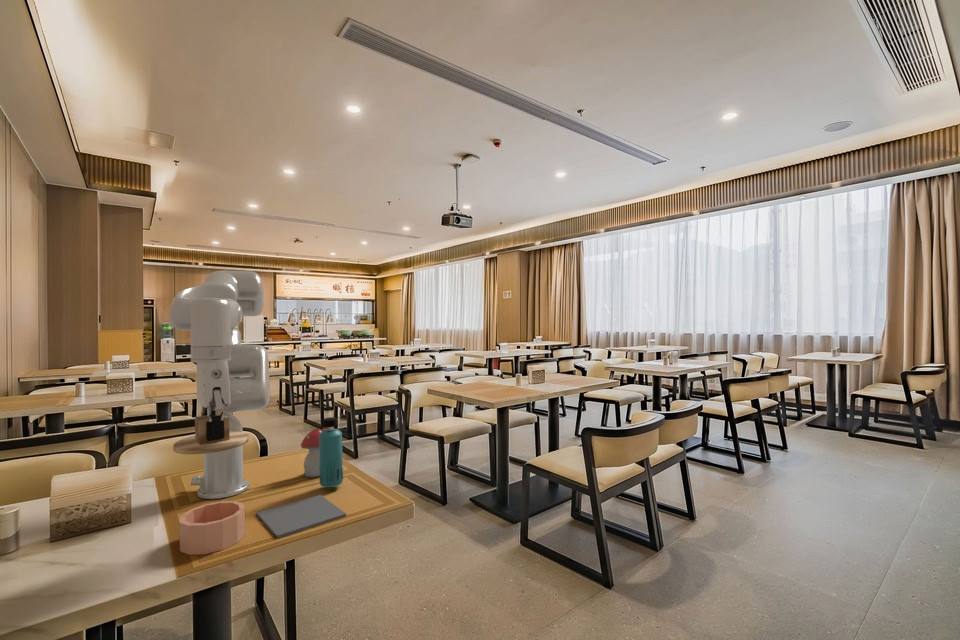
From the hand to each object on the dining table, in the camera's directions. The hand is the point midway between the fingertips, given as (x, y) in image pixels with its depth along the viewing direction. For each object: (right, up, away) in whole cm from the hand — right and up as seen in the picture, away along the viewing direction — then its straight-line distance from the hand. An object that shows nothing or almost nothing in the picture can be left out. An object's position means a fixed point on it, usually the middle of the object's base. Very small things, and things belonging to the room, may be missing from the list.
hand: (212, 436), depth 96 cm
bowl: (0, -23, 0) cm, 23 cm away
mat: (+15, -23, +12) cm, 29 cm away
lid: (0, -2, 0) cm, 2 cm away
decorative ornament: (+8, -23, +40) cm, 47 cm away
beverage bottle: (+16, -23, +29) cm, 40 cm away
